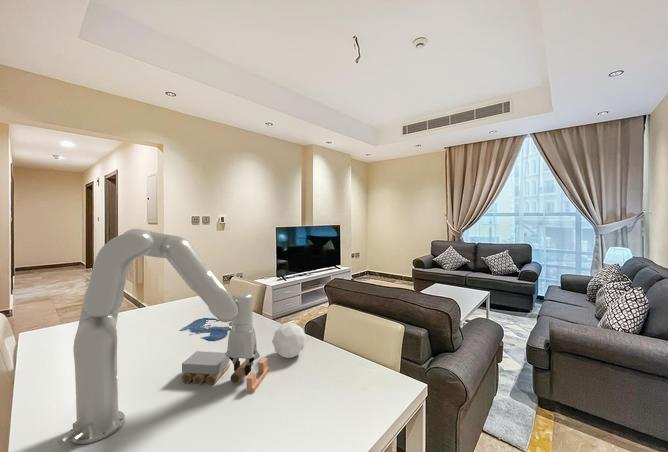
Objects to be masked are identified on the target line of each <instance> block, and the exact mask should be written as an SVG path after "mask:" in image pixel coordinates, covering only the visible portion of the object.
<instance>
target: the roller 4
mask: <svg viewBox="0 0 668 452" xmlns="http://www.w3.org/2000/svg"><path fill="white" fill-rule="evenodd" d="M245 365H246V359H245V360H244V361H243V362H242V363H240V366H239V368H238V369H237V370H236V371H233V373H232V374H231V375H230V381H231V383H233V384H238V383H239V382H240V381H241V380H242V379H243V378H244V376H245ZM253 365H254V361H253V362H252V363H251V368H252V367H253Z"/></svg>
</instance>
